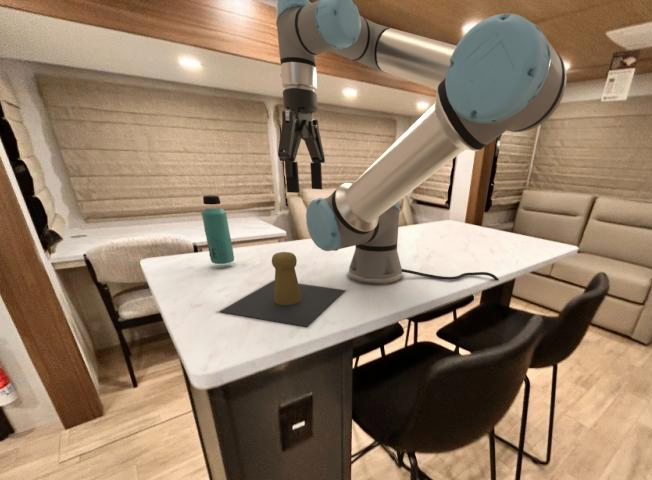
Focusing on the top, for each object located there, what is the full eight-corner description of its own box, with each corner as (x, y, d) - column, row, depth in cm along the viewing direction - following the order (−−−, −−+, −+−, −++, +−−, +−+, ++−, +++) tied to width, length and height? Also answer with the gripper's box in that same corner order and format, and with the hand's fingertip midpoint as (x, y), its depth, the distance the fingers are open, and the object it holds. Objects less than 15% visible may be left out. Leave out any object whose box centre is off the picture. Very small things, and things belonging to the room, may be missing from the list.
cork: (286, 307, 67) (282, 258, 63) (268, 300, 70) (262, 253, 66) (307, 298, 72) (304, 252, 67) (288, 292, 75) (284, 248, 70)
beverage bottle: (239, 263, 95) (229, 195, 87) (227, 270, 89) (215, 197, 81) (219, 261, 95) (207, 193, 87) (206, 268, 89) (191, 196, 81)
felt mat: (344, 290, 78) (344, 290, 78) (306, 327, 60) (306, 326, 60) (274, 281, 82) (274, 280, 82) (219, 312, 64) (219, 311, 64)
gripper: (308, 101, 81) (312, 187, 90) (251, 75, 59) (265, 193, 67) (335, 101, 80) (337, 188, 88) (288, 75, 57) (297, 195, 66)
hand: (306, 190), depth 78 cm, fingers open, 13 cm apart
